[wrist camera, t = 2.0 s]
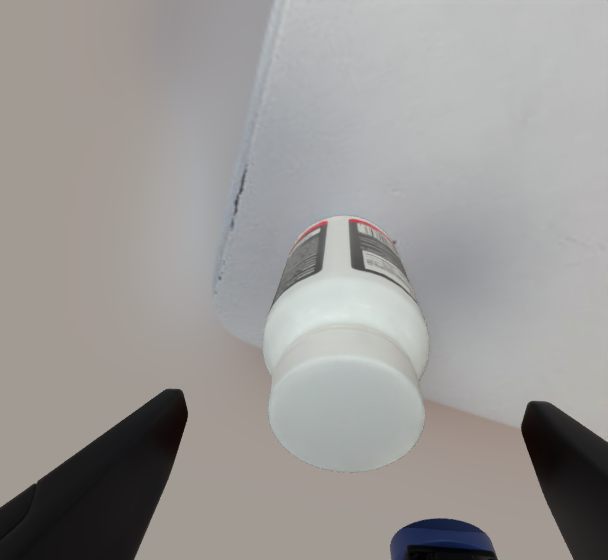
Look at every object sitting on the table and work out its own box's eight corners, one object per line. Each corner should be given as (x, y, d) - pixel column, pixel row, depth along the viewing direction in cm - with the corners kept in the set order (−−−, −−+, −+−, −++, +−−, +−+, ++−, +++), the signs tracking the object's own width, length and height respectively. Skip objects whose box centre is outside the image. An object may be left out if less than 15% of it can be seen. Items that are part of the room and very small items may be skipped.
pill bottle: (302, 319, 19) (268, 495, 10) (277, 224, 17) (208, 347, 8) (404, 304, 18) (463, 485, 9) (391, 202, 16) (451, 313, 7)
